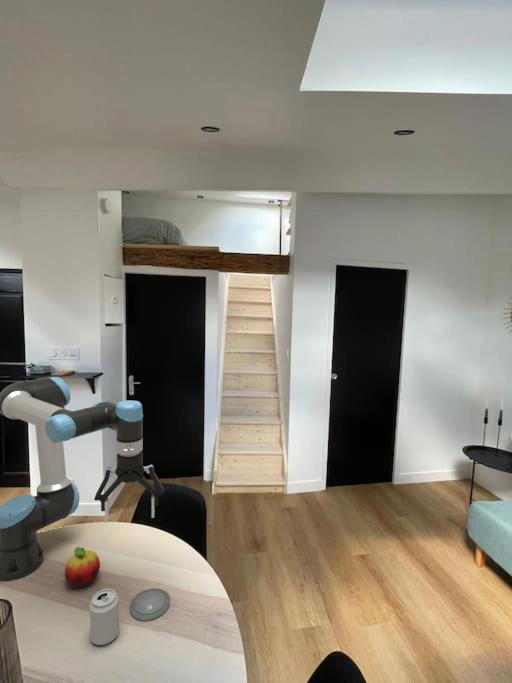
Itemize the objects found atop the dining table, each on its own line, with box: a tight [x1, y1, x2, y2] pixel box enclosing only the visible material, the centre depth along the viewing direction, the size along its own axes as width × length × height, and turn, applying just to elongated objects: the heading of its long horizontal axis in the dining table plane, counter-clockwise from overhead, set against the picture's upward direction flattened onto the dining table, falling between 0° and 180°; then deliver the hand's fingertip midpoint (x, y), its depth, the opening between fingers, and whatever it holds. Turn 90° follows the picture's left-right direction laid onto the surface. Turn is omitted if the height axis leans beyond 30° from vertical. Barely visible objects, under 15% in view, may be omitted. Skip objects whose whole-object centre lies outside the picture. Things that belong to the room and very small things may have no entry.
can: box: [89, 588, 120, 646], centre depth 105 cm, size 8×8×12 cm
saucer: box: [129, 587, 171, 622], centre depth 117 cm, size 12×12×1 cm
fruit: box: [64, 546, 101, 588], centre depth 126 cm, size 11×11×10 cm
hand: (130, 517), depth 117 cm, fingers open, 13 cm apart
